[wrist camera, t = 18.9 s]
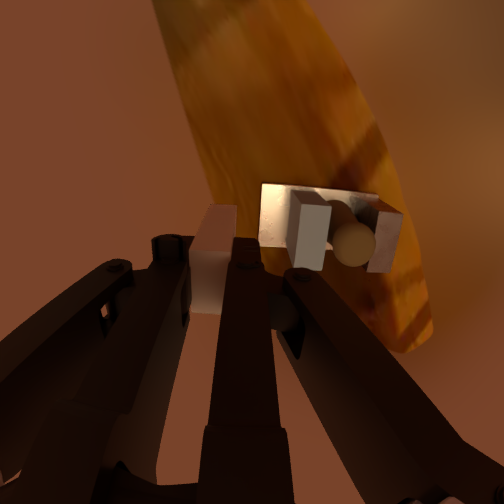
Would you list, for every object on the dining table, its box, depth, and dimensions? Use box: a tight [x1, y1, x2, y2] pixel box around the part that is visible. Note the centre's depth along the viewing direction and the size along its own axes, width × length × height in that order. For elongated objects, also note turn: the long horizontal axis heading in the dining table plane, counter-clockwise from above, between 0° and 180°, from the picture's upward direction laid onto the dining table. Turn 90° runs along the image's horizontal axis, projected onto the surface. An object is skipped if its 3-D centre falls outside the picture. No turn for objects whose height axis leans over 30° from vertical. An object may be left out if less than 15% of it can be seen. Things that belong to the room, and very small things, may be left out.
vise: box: [258, 182, 403, 273], centre depth 38 cm, size 9×17×9 cm, turn 86°
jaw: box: [286, 190, 332, 271], centre depth 37 cm, size 8×4×8 cm, turn 177°
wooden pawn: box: [327, 200, 376, 267], centre depth 36 cm, size 6×6×11 cm
